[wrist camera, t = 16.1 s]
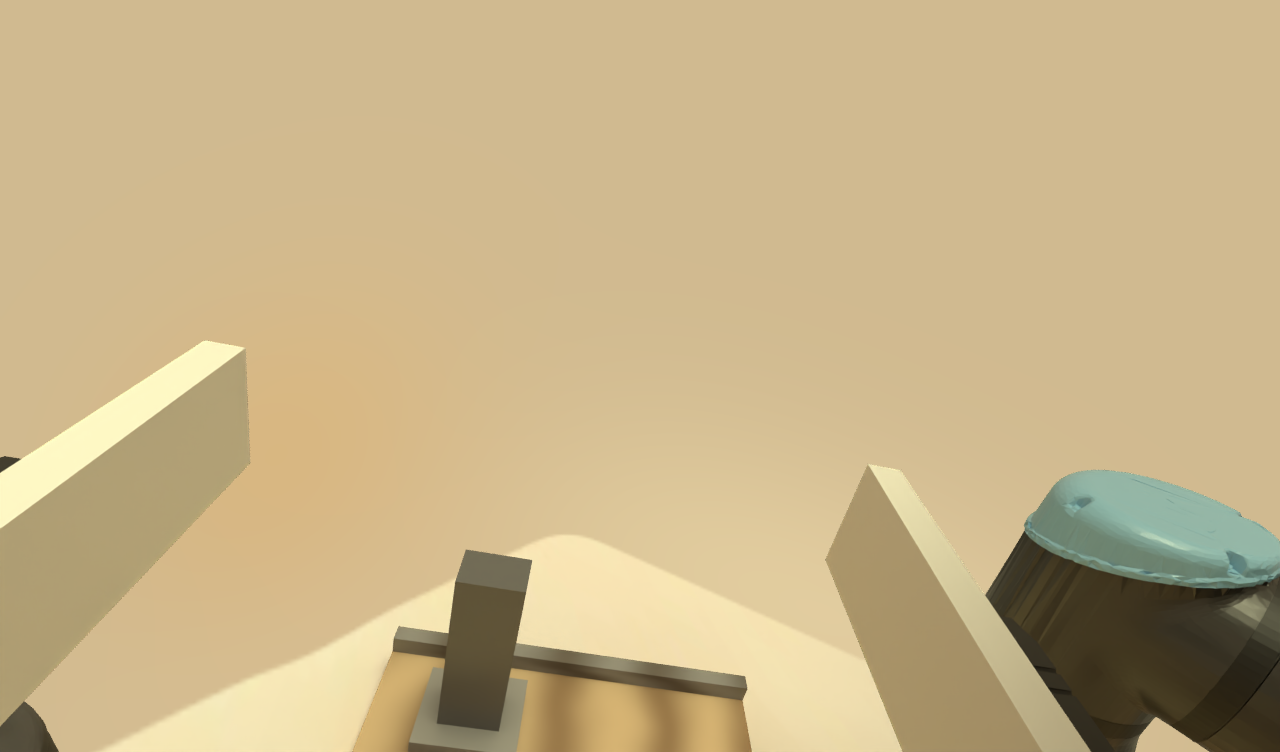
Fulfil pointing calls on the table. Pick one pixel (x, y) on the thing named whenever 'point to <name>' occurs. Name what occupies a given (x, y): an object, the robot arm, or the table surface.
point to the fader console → (574, 701)
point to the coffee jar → (25, 732)
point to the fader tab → (477, 663)
